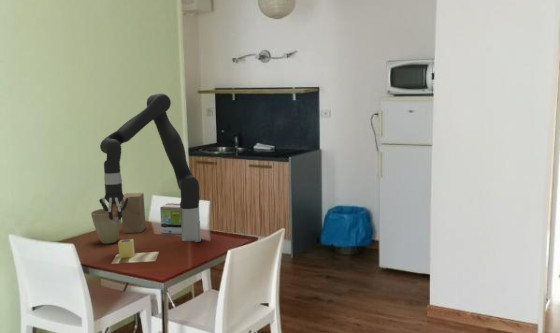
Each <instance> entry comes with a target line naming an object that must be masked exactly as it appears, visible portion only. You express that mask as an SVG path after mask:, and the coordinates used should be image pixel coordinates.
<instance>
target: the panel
mask: <svg viewBox="0 0 560 333" xmlns="http://www.w3.org/2000/svg"><path fill="white" fill-rule="evenodd" d="M159 254H160V252H159V251H152V252H151V251H148V252H135V254H134V256H133V257H127V258H119V253H118V254H116V255H115V257H114V259H113V260H112V262H111V264H112V265H113V264H127V263H145V262H156V261H157V258H158V255H159Z"/></svg>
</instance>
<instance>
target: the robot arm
mask: <svg viewBox="0 0 560 333" xmlns="http://www.w3.org/2000/svg"><path fill="white" fill-rule="evenodd" d="M171 104H172V102H171V99H170V97H169V96H168V95H167V94H164V93H156V94H151V95H150V96H148V98H147V99H146V107H145V108H144V109H143V110H142V111H140V112H139V113H138V114H136V115H134V116H133V117H131V118H130V119H129V120H127V121H126V122H125V123H124V124H122V125H121V126H120V127H119V128H118V129H117V130H116V131H114V132H113V133H110V134H109V135H108V136H106V137H105V138H103V139H102V141H101V142H100V145H99V148H100V151H101V152H102V153H103V154H106V160H105V161H104V162H103V169H104V170H103V171H104V172H103V173H104V177H103V180H104V194H105V195H104V197H101V198H99V200H98V202H99V203H100V205H101V207H102V209H104V210H105V211H108V212H109V219H111V220H112V204H117V207H118V219H119V220H120V219H121V220H122V210H125V209H126V206H127V204H128V201H129V197H125V196H124V193H123V180H122V173H121V163H120V162H121V159H122V158H121V156H122V146H121V145H123V144H125V143H127V142H129V141H130V140H131V139H133V138H134V137H135V136H136V135H137V134H138V133H139V132H141V131H142V130H143V129H144V128H145V127H146V126H147V125H148V124H150V123H151V122H152V121H153V122H154V125H155V126H156V130H157V132H158V136H159V138H160V139H161V143H162V146H163V149H164V152H165V154H166V156H167V158H168V161H169V163H170V165H171V167H172V169H173V172H174V176H175V178H176V183H177V187H178V189H179V190H180V202H179V204H180V212H181V229H182V234H181V241H182V242H194V243H200V242H201V241H202V240H201V239H202V236H201V235H202V234H201V233H202V232H201V221H200V220H201V219H200V197H201V196H200V184H199V180H198V179H197V178H196V177H194V175H193V174H192V172H191V170H190V168H189V164H188V161H187V156H186V150H185V146H184V143H183V140H182V138H181V136H180V134H179V132H178V131H177V130H176V127H174V126H173V124H172V122H171V121H170V119H169V117H168V113H167V111H168V110H169V109H170V107H171ZM122 199H124V201H125V203H124V205H123V207H121V201H122ZM107 203H108V206H107Z"/></svg>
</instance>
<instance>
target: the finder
mask: <svg viewBox="0 0 560 333" xmlns="http://www.w3.org/2000/svg"><path fill="white" fill-rule="evenodd" d="M134 241H135V240H134V239H133V238H131V239H129V238H128V239H120V240H119V241H118V243H117V245H118V254H119V258H127V257H133V256H134V254H135V253H136V252H135V242H134Z"/></svg>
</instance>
